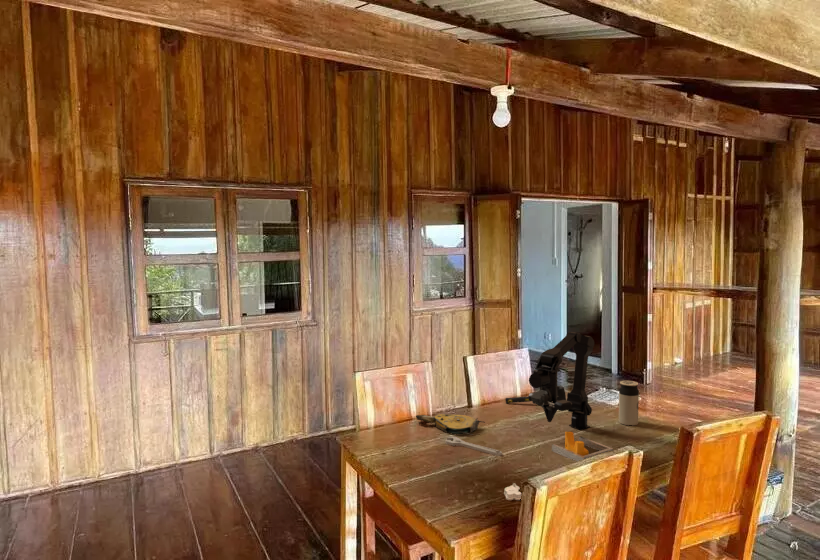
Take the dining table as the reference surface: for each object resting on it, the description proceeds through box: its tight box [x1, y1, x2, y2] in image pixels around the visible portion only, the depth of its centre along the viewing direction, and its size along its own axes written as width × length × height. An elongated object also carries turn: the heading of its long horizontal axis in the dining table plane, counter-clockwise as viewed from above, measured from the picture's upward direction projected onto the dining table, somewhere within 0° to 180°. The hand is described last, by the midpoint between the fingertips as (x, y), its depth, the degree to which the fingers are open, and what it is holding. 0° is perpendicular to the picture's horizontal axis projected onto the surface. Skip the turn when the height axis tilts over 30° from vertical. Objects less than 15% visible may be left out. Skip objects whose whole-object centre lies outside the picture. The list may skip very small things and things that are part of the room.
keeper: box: [551, 436, 614, 462], centre depth 205 cm, size 16×15×2 cm
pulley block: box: [415, 413, 486, 436], centre depth 235 cm, size 14×6×30 cm
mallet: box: [504, 385, 567, 405], centre depth 266 cm, size 29×6×10 cm, turn 80°
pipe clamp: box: [564, 431, 590, 456], centre depth 204 cm, size 12×4×6 cm, turn 5°
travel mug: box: [618, 380, 640, 426], centre depth 238 cm, size 8×8×18 cm
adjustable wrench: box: [444, 435, 503, 457], centre depth 210 cm, size 25×6×2 cm, turn 47°
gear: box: [503, 482, 522, 501], centre depth 172 cm, size 9×9×2 cm
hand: (549, 421), depth 218 cm, fingers closed
